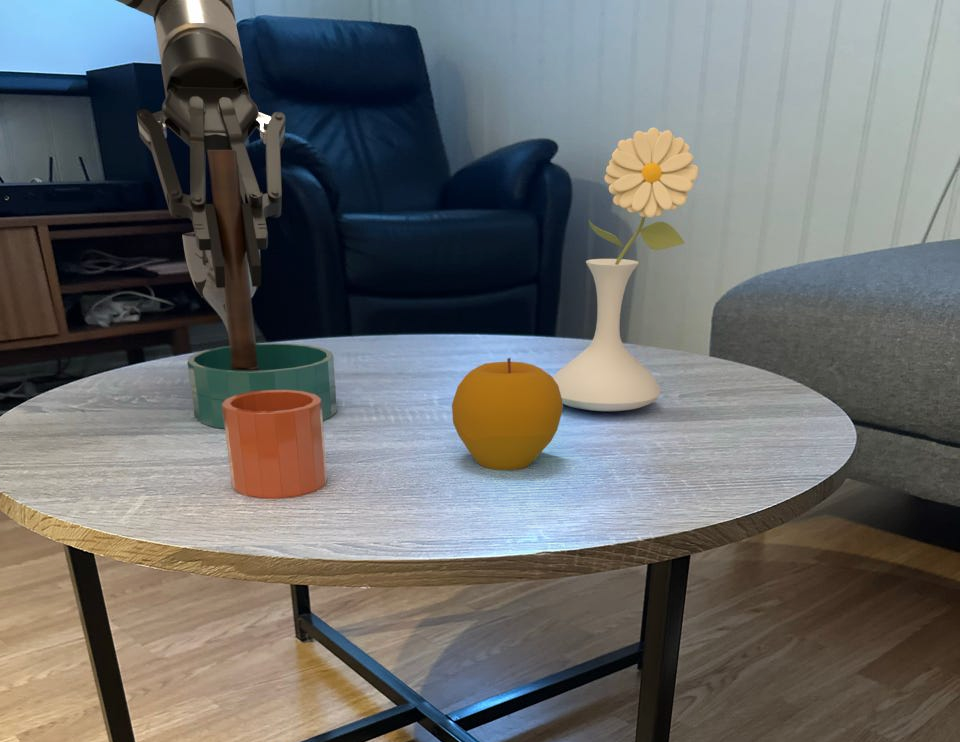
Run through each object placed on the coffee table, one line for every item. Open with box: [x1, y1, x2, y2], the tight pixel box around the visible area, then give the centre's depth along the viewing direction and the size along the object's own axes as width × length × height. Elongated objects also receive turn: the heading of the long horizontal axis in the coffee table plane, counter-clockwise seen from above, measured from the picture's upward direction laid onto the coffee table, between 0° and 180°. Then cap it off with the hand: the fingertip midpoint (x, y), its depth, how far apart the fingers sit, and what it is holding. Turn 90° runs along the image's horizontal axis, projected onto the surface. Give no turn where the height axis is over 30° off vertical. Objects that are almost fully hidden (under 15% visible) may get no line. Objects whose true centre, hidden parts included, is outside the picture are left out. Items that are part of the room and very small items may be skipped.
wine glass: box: [182, 231, 262, 340], centre depth 103 cm, size 8×8×15 cm
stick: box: [207, 150, 259, 371], centre depth 85 cm, size 3×2×21 cm
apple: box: [451, 357, 564, 471], centre depth 75 cm, size 9×9×9 cm
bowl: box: [187, 342, 338, 430], centre depth 89 cm, size 13×13×6 cm
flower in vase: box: [552, 127, 699, 412], centre depth 89 cm, size 13×11×25 cm
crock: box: [222, 390, 328, 500], centre depth 70 cm, size 7×7×7 cm
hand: (238, 276), depth 81 cm, fingers closed on stick, 2 cm apart
